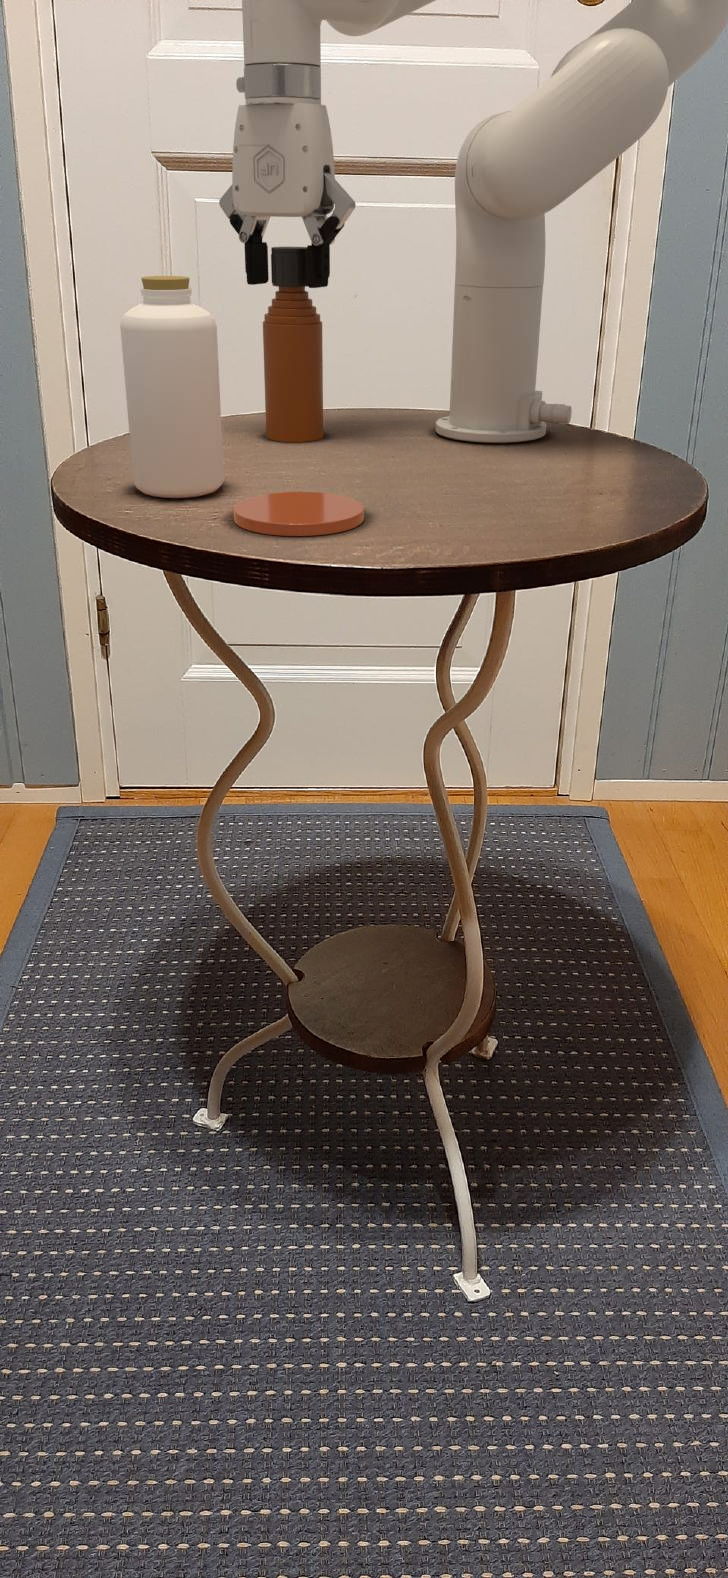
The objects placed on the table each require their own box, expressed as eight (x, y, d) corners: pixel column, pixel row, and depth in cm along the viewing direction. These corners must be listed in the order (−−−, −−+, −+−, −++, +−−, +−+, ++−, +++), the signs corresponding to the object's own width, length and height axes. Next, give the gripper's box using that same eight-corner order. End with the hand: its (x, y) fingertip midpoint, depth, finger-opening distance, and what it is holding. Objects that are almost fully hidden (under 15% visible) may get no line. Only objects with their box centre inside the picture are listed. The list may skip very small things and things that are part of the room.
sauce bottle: (332, 433, 131) (331, 254, 122) (309, 444, 125) (306, 257, 117) (280, 429, 133) (276, 253, 124) (256, 439, 127) (250, 255, 119)
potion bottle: (126, 483, 108) (108, 274, 100) (213, 477, 111) (202, 273, 103) (142, 503, 102) (124, 281, 93) (234, 496, 104) (224, 280, 96)
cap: (279, 287, 119) (278, 248, 118) (267, 284, 123) (266, 246, 121) (316, 286, 121) (316, 248, 119) (303, 283, 124) (302, 246, 123)
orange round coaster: (382, 510, 100) (383, 498, 100) (332, 542, 91) (332, 529, 91) (269, 498, 104) (269, 486, 103) (210, 527, 95) (209, 515, 94)
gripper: (189, 89, 114) (200, 284, 123) (338, 83, 107) (339, 291, 115) (233, 93, 120) (241, 279, 128) (378, 89, 112) (376, 287, 121)
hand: (287, 283), depth 122 cm, fingers open, 7 cm apart
